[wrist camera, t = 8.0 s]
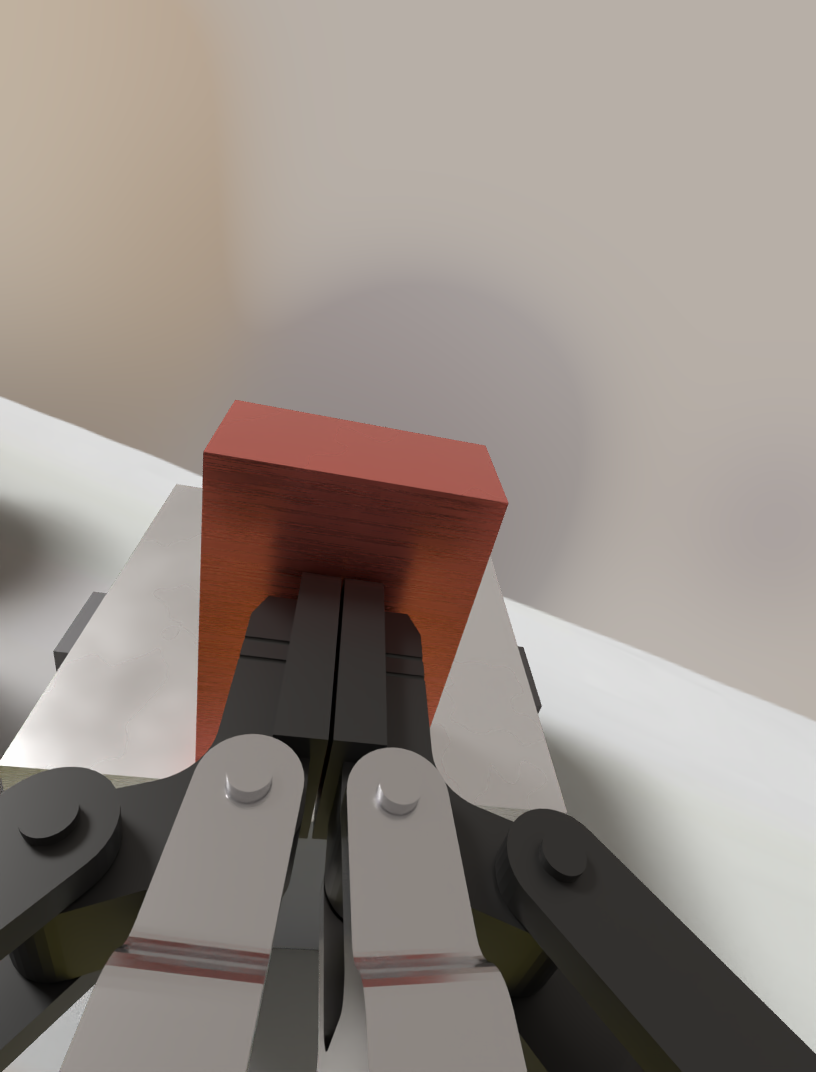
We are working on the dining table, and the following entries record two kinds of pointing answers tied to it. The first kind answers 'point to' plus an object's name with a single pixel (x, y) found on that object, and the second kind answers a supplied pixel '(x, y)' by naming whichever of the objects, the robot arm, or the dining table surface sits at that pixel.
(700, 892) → the dining table surface
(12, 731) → the dining table surface
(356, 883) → the robot arm
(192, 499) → the lid
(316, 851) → the grey box
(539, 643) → the dining table surface
